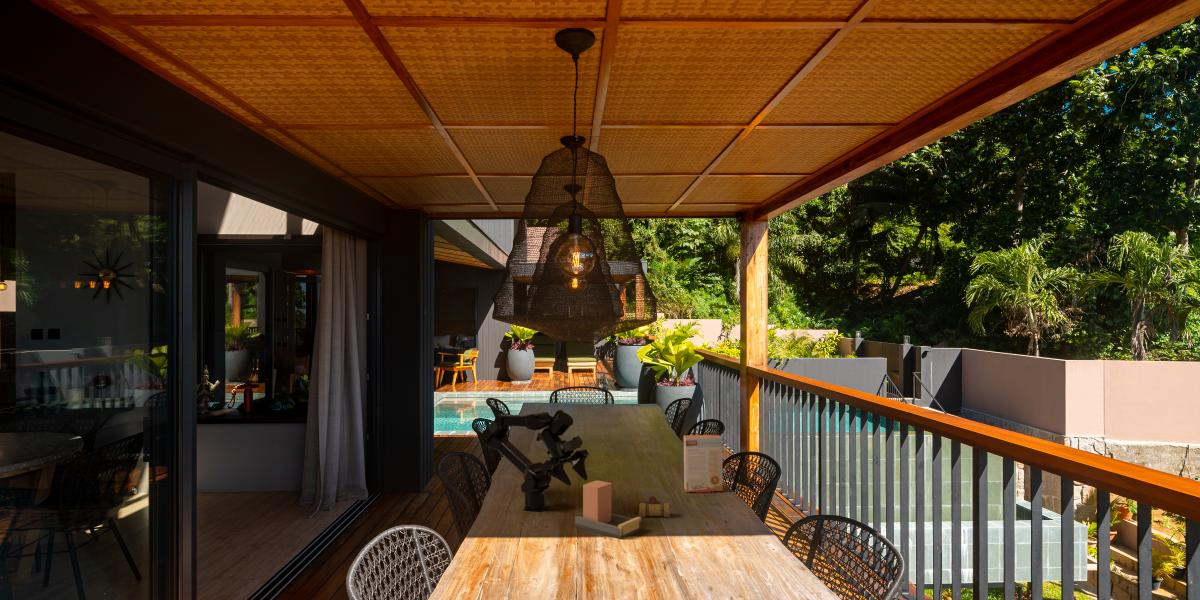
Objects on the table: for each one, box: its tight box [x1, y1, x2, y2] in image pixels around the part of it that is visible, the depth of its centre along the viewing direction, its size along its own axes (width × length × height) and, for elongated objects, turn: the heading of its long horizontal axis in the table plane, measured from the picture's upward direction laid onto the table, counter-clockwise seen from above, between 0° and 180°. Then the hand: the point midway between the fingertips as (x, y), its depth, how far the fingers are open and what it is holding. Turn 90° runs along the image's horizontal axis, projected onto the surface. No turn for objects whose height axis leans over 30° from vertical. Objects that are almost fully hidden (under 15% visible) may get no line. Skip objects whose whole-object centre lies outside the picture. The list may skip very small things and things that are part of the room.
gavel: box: [638, 495, 671, 518], centre depth 225 cm, size 21×5×10 cm
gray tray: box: [574, 512, 642, 540], centre depth 204 cm, size 18×10×4 cm, turn 51°
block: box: [582, 479, 612, 523], centre depth 207 cm, size 6×7×12 cm
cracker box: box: [683, 434, 724, 493], centre depth 247 cm, size 14×6×21 cm, turn 92°
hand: (578, 482), depth 213 cm, fingers open, 8 cm apart
